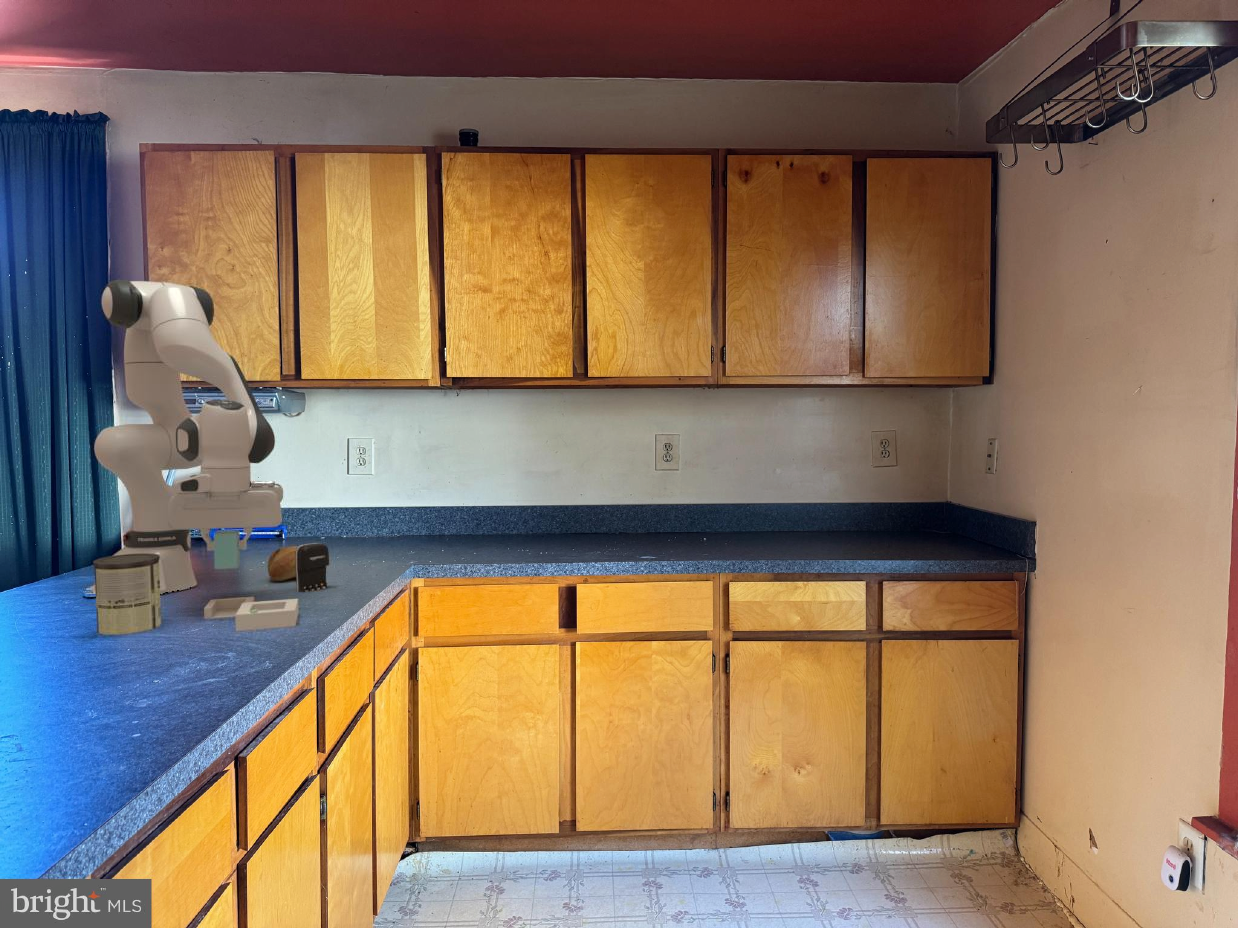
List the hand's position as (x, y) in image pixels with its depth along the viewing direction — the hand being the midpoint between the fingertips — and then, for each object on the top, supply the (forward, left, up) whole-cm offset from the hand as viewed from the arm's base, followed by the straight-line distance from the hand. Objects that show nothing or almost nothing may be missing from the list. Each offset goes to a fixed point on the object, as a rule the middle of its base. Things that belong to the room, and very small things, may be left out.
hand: (227, 550), depth 151 cm
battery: (+15, +17, -14) cm, 26 cm away
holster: (0, 0, -14) cm, 14 cm away
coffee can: (-16, -6, -14) cm, 22 cm away
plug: (0, 0, -3) cm, 3 cm away
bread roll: (+9, +38, -14) cm, 42 cm away
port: (+8, -11, -14) cm, 20 cm away
